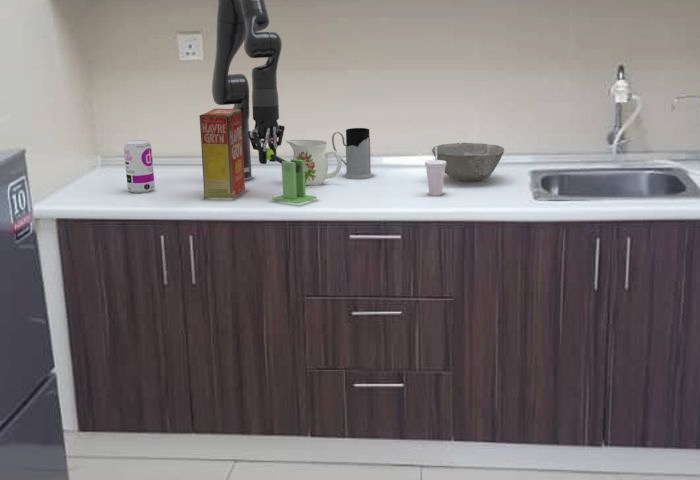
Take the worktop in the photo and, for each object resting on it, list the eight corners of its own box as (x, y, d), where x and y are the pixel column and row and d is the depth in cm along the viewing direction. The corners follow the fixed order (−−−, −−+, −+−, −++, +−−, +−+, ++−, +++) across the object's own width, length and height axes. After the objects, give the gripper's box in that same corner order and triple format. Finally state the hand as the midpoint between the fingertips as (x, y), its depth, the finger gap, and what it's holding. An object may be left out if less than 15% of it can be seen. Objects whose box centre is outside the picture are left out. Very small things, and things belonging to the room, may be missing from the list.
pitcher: (336, 190, 299) (334, 145, 295) (280, 187, 304) (278, 143, 300) (347, 182, 309) (345, 139, 305) (293, 180, 314) (291, 137, 310)
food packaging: (233, 200, 288) (228, 114, 281) (202, 199, 290) (196, 114, 282) (246, 190, 301) (242, 108, 293) (217, 189, 302) (211, 108, 295)
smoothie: (448, 192, 293) (449, 145, 289) (443, 197, 287) (443, 149, 283) (428, 191, 295) (428, 144, 291) (422, 195, 289) (422, 148, 285)
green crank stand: (272, 201, 286) (270, 161, 282) (290, 196, 292) (288, 157, 288) (299, 205, 280) (297, 165, 277) (316, 200, 286) (315, 160, 283)
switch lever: (258, 158, 288) (260, 147, 286) (266, 156, 290) (268, 145, 289) (291, 175, 282) (294, 164, 280) (299, 173, 284) (301, 162, 283)
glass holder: (362, 179, 313) (361, 132, 308) (325, 175, 320) (324, 129, 315) (377, 174, 320) (376, 128, 315) (340, 170, 327) (339, 125, 322)
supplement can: (160, 188, 306) (156, 140, 301) (144, 194, 298) (139, 145, 294) (139, 186, 309) (134, 139, 304) (122, 192, 302) (117, 143, 297)
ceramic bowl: (486, 190, 294) (486, 157, 291) (418, 183, 306) (418, 151, 303) (516, 177, 312) (516, 145, 309) (451, 170, 324) (451, 140, 321)
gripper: (271, 99, 291) (274, 157, 296) (238, 105, 280) (241, 165, 285) (291, 101, 286) (293, 160, 292) (258, 107, 276) (261, 168, 281)
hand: (267, 162), depth 288 cm, fingers closed on switch lever, 3 cm apart
